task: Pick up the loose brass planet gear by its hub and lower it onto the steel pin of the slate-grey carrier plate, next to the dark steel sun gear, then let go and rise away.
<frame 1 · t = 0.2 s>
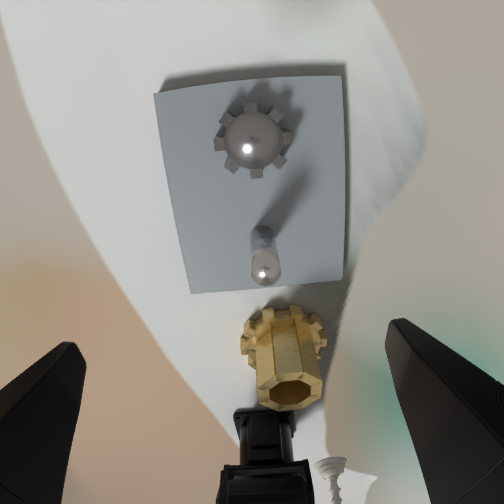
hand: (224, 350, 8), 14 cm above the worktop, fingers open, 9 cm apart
carrier: (257, 188, 21), on the worktop
chalice: (330, 462, 40), on the worktop
planet gear: (283, 337, 27), on the worktop
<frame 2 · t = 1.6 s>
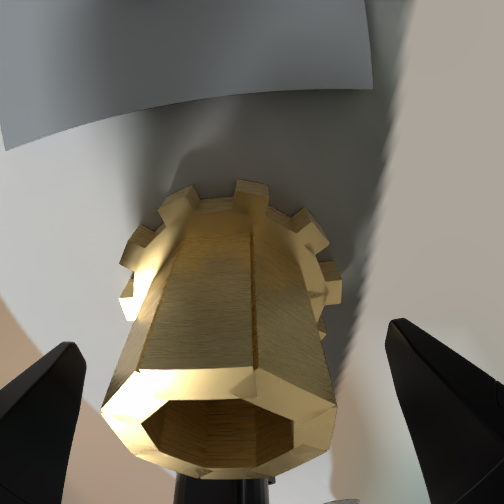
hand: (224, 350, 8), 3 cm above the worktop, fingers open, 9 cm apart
planet gear: (229, 282, 11), on the worktop
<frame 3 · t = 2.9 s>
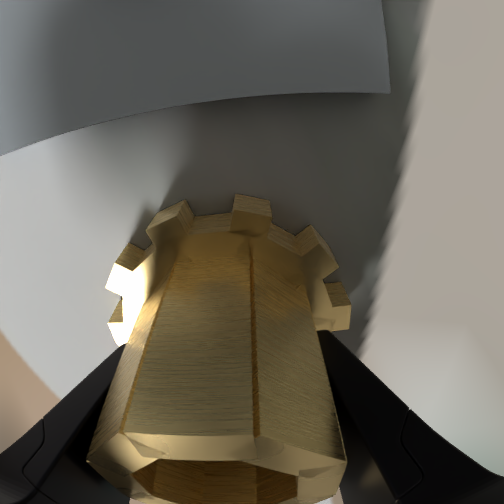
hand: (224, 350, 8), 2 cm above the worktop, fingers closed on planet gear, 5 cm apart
planet gear: (227, 304, 10), on the worktop, touching gripper
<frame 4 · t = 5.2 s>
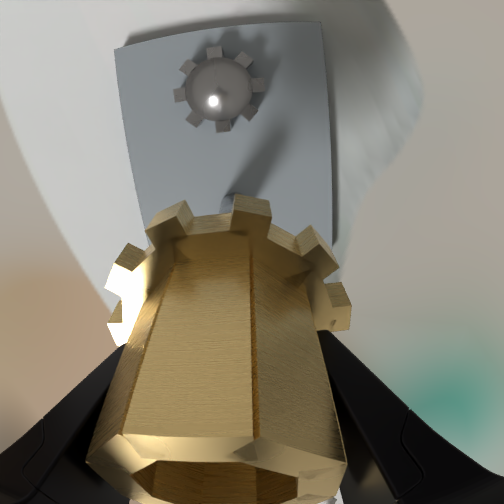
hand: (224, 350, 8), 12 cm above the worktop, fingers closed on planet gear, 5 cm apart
carrier: (229, 150, 18), on the worktop
planet gear: (227, 305, 10), point 10 cm above the worktop, touching gripper
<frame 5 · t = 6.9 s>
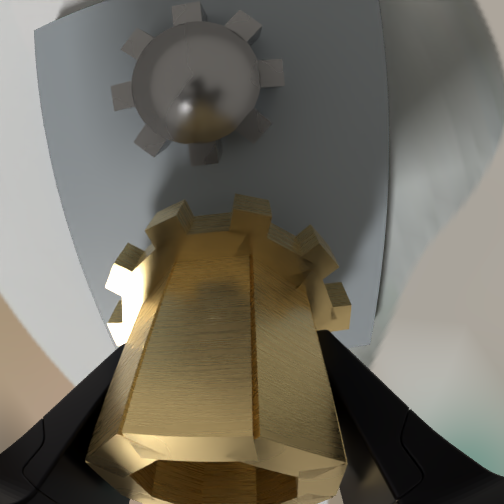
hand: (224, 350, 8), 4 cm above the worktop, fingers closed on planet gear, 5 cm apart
carrier: (219, 187, 11), on the worktop
planet gear: (227, 304, 10), point 2 cm above the worktop, touching gripper
when the fingers open (4 cm above the worktop, at t = 8.0 s): planet gear drops 1 cm, resting on carrier.
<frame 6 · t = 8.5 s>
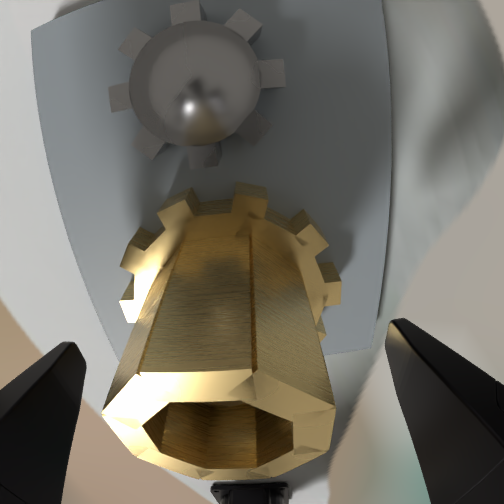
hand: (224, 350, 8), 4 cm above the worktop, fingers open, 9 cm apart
carrier: (218, 190, 11), on the worktop
planet gear: (229, 283, 11), point 1 cm above the worktop, touching carrier
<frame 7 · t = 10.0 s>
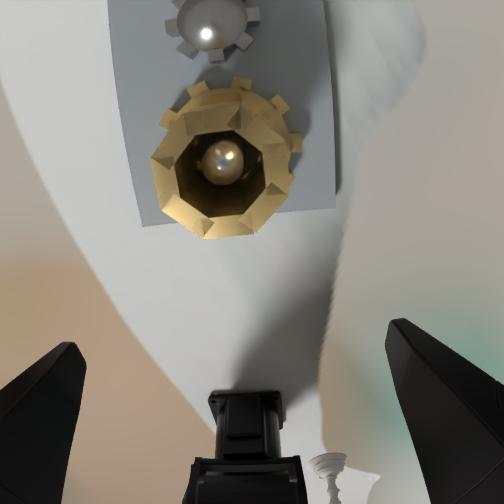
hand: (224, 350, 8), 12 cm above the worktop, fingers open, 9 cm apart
carrier: (223, 88, 15), on the worktop
chalice: (327, 459, 35), on the worktop
planet gear: (228, 145, 16), point 1 cm above the worktop, touching carrier
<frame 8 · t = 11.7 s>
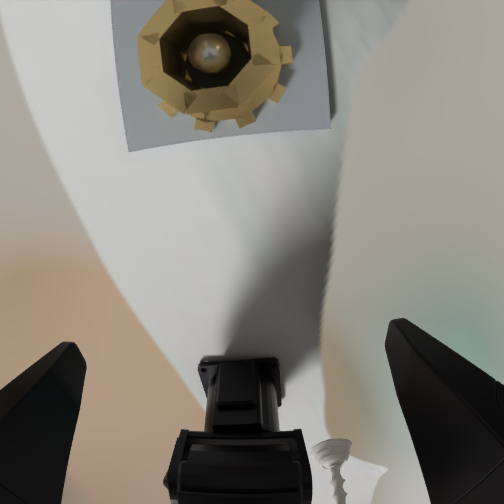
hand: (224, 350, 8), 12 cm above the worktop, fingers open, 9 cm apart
carrier: (214, 16, 14), on the worktop
chalice: (331, 447, 33), on the worktop
planet gear: (219, 63, 14), point 1 cm above the worktop, touching carrier
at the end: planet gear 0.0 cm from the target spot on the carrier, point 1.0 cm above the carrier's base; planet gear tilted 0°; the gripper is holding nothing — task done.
